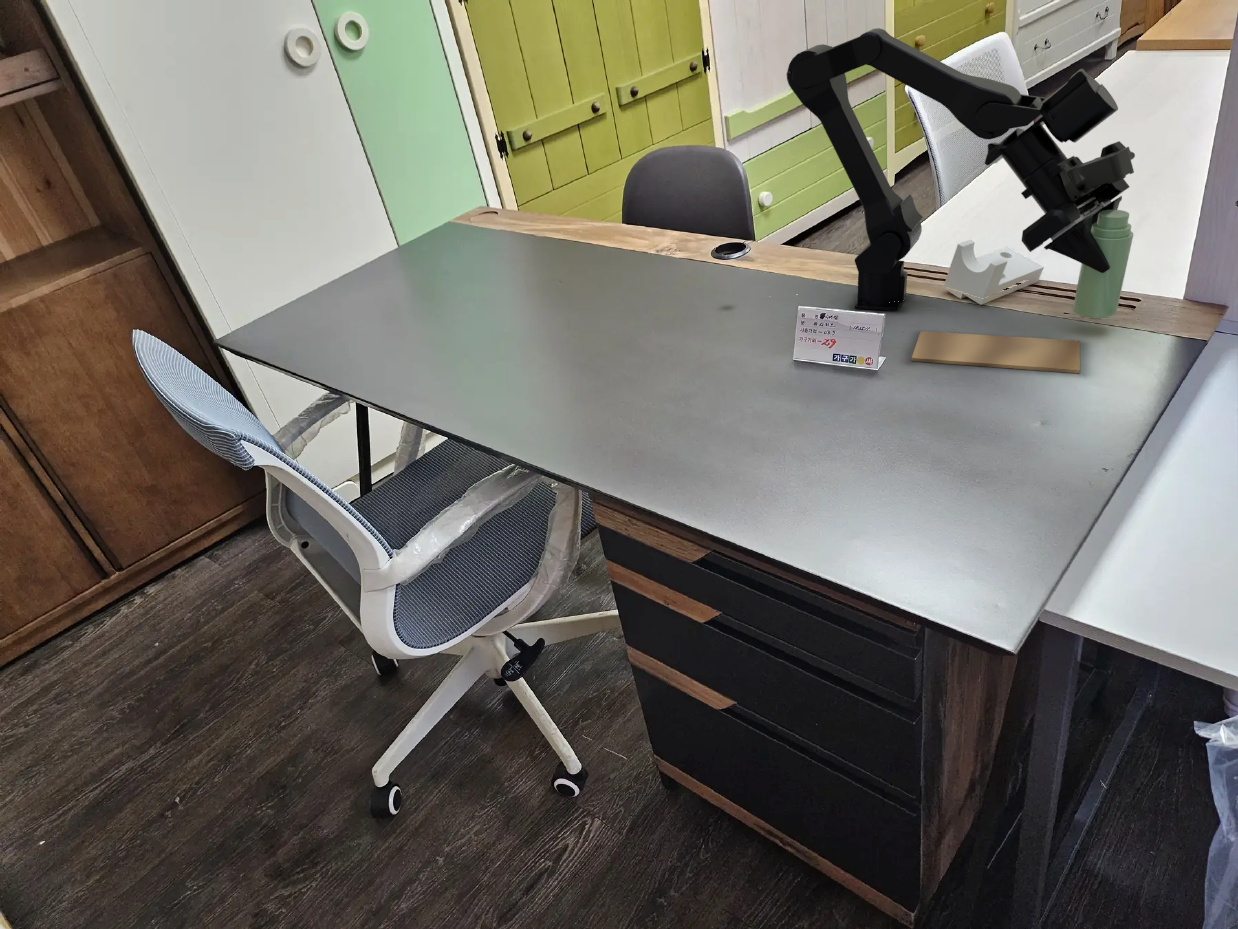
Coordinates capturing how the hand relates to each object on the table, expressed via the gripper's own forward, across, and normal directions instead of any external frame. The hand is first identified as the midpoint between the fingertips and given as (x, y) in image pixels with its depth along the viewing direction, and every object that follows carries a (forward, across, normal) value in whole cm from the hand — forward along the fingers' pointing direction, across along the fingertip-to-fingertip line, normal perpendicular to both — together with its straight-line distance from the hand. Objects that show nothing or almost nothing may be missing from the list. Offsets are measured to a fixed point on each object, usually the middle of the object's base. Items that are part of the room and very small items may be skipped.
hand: (1115, 264), depth 109 cm
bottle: (+4, 0, +6) cm, 7 cm away
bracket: (-6, +8, +20) cm, 23 cm away
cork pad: (+1, -13, +13) cm, 18 cm away
